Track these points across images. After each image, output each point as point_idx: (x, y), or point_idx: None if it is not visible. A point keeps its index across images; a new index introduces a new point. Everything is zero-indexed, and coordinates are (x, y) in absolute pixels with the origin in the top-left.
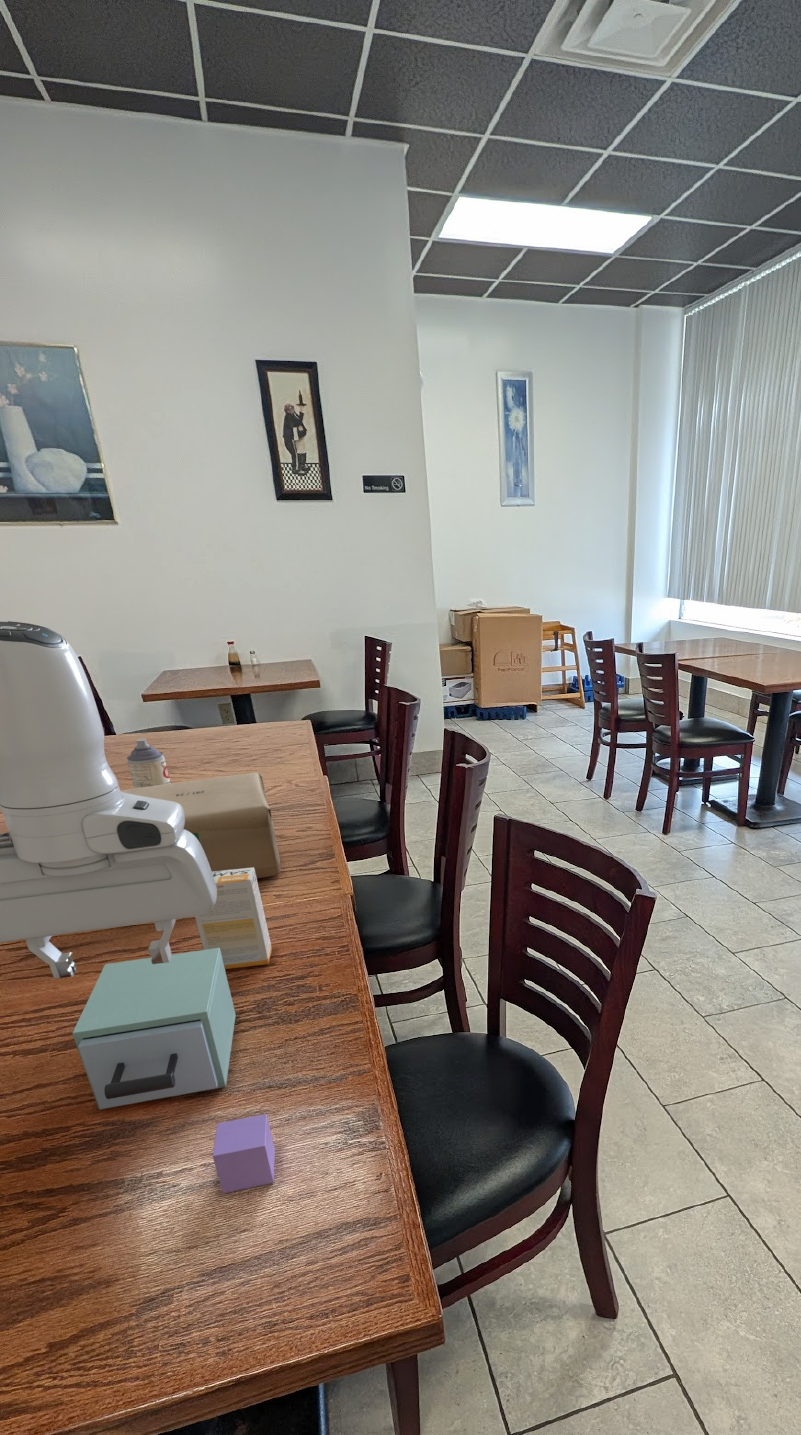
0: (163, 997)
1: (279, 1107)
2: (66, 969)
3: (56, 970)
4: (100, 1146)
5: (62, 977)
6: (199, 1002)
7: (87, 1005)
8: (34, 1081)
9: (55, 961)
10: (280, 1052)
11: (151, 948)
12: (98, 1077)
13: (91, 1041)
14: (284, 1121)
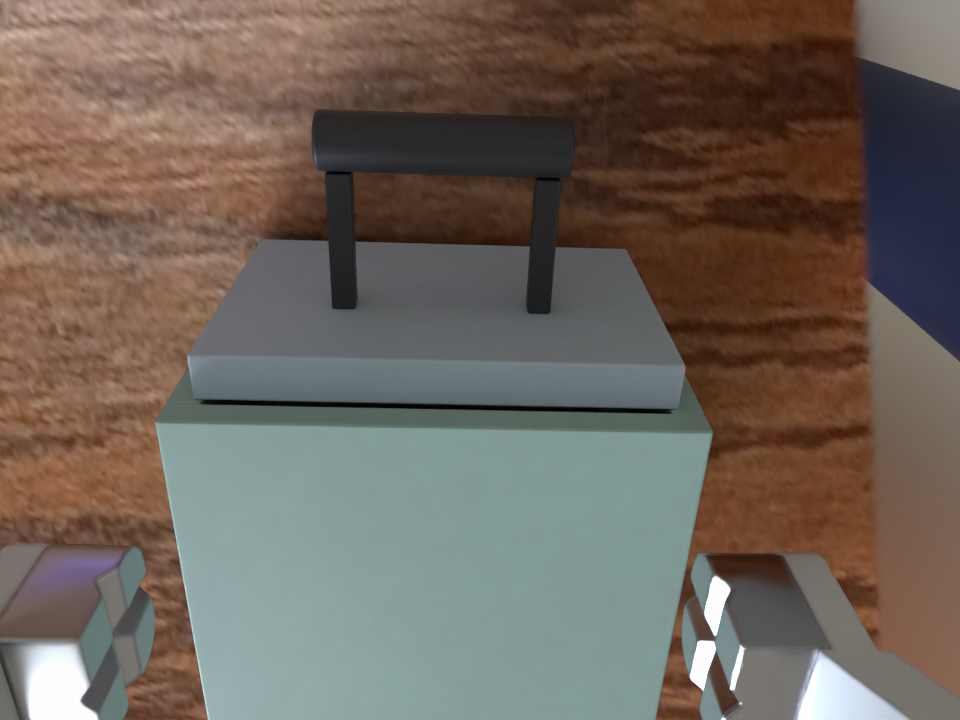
0: (374, 574)
1: (41, 93)
2: (738, 589)
3: (810, 593)
4: (613, 84)
5: (763, 553)
6: (207, 498)
7: (670, 602)
8: (824, 463)
9: (827, 657)
10: (105, 386)
11: (54, 651)
12: (621, 295)
13: (637, 386)
14: (3, 4)
